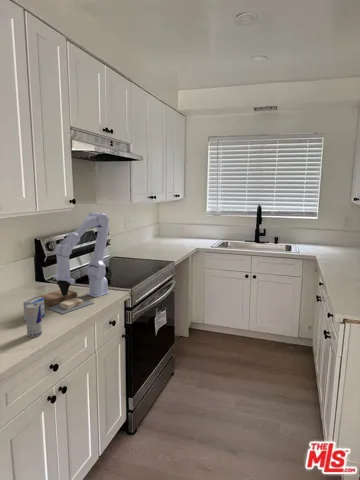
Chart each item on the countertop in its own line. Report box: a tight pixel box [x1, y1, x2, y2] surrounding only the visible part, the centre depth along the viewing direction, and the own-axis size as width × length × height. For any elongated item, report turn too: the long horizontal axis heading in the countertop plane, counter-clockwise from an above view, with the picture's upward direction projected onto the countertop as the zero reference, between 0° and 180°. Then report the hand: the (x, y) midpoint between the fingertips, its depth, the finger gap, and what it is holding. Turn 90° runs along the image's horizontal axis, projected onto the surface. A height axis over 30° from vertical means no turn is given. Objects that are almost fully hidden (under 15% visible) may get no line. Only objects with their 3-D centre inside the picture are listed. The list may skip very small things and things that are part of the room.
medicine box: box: [22, 296, 46, 322], centre depth 146 cm, size 8×4×9 cm, turn 164°
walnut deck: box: [36, 289, 78, 308], centre depth 168 cm, size 16×10×4 cm, turn 144°
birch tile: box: [60, 297, 83, 309], centre depth 161 cm, size 9×6×2 cm, turn 144°
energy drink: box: [25, 303, 43, 338], centre depth 129 cm, size 5×5×12 cm
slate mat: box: [47, 297, 95, 315], centre depth 161 cm, size 18×12×1 cm, turn 144°
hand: (64, 295), depth 164 cm, fingers closed
